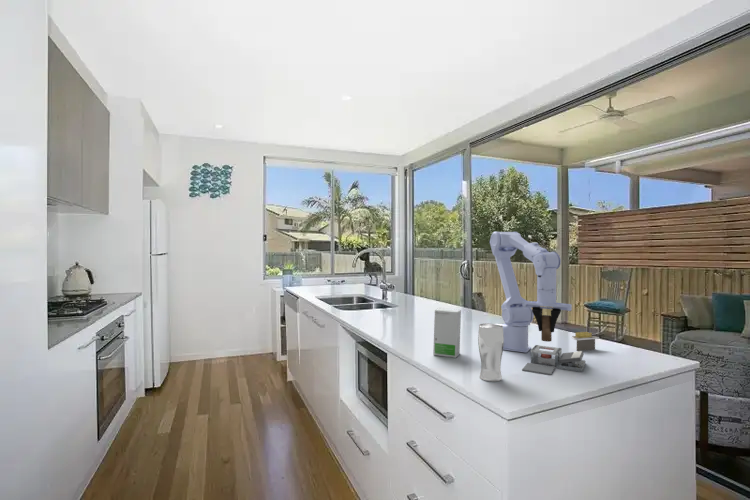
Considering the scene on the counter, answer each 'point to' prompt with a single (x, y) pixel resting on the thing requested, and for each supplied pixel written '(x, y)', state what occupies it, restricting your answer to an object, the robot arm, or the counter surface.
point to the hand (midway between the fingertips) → (546, 331)
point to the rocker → (571, 357)
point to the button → (546, 356)
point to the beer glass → (490, 351)
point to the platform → (585, 341)
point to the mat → (538, 368)
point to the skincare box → (447, 332)
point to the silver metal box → (555, 362)
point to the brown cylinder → (546, 328)
